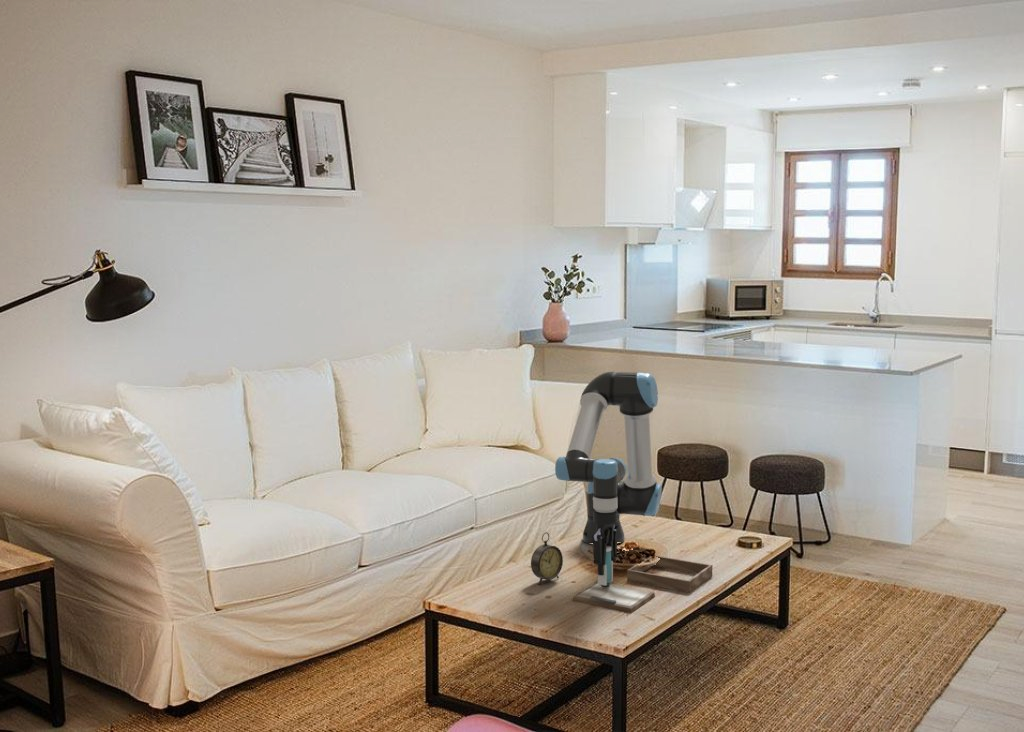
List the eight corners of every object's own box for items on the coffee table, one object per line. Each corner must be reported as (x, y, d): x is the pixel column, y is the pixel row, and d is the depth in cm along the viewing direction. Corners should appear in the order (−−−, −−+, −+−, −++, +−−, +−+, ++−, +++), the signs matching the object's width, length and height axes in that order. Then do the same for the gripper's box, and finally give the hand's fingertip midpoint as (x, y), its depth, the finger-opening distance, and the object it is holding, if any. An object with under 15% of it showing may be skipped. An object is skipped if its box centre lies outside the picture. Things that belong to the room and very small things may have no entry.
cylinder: (602, 582, 327) (602, 544, 326) (613, 585, 325) (613, 546, 324) (597, 586, 324) (596, 547, 323) (607, 588, 322) (607, 549, 321)
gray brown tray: (651, 564, 350) (651, 554, 350) (712, 575, 339) (712, 565, 338) (627, 580, 335) (627, 570, 335) (689, 592, 323) (689, 581, 323)
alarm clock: (539, 587, 330) (539, 537, 328) (528, 583, 334) (527, 534, 332) (564, 579, 337) (563, 530, 335) (552, 575, 341) (551, 527, 339)
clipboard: (597, 585, 331) (597, 579, 331) (654, 596, 320) (654, 590, 320) (572, 600, 318) (572, 594, 318) (631, 612, 307) (631, 606, 307)
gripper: (606, 502, 331) (607, 573, 334) (581, 514, 317) (581, 588, 320) (628, 505, 327) (628, 577, 330) (603, 517, 313) (603, 592, 316)
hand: (605, 582), depth 325 cm, fingers closed on cylinder, 3 cm apart
